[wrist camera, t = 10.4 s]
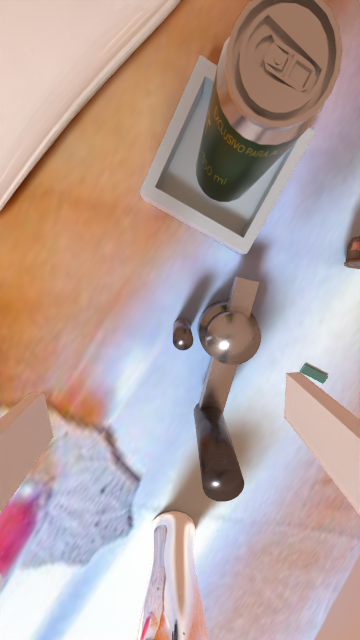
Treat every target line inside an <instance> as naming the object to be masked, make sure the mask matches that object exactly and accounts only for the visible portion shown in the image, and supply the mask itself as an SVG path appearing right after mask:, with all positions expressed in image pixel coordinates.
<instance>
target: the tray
mask: <svg viewBox="0 0 360 640" xmlns="http://www.w3.org/2000/svg"><path fill="white" fill-rule="evenodd" d="M216 70H217V65H215V64H214V63H212V62H211V61H209V60H208V59H206V58H205V57H203V56H202V55H200V56H199V58H198V61H197V63H196V65H195V67H194V70H193V72H192V74H191V76H190V79H189V81H188V83H187V86H186V88H185V90H184V92H183V95H182V97H181V99H180V101H179V104H178V106H177V108H176V111H175V113H174V115H173V117H172V120H171V122H170V124H169V126H168V129H167V131H166V133H165V135H164V138H163V140H162V142H161V145H160V147H159V149H158V151H157V154H156V156H155V158H154V160H153V163H152V165H151V167H150V170H149V172H148V174H147V176H146V179H145V181H144V183H143V185H142V188H141V190H140V194H141V196H142V198H143V200H144V201H146V202H148V203H149V204H151V205H153V206H155V207H157V208H158V209H160V210H162V211H164V212H165V213H167V214H169V215H171V216H173V217H174V218H176V219H178V220H180V221H181V222H183V223H185V224H187V225H189V226H190V227H192V228H194V229H196V230H197V231H199V232H201V233H203V234H205V235H206V236H208V237H210V238H212V239H213V240H215V241H217V242H219V243H221V244H222V245H224V246H226V247H228V248H229V249H231V250H233V251H235V252H236V253H238V254H240V255H241V254H246V253H248V251H249V249H250V248H251V246H252V244H253V242H254V240H255V239H256V237H257V235H258V233H259V232H260V230H261V228H262V226H263V224H264V223H265V221H266V219H267V217H268V216H269V214H270V212H271V210H272V209H273V207H274V205H275V203H276V201H277V200H278V198H279V196H280V194H281V193H282V191H283V189H284V187H285V185H286V184H287V182H288V180H289V178H290V177H291V175H292V173H293V171H294V169H295V168H296V166H297V164H298V162H299V161H300V159H301V157H302V155H303V154H304V152H305V150H306V148H307V146H308V145H309V143H310V141H311V139H312V138H313V136H314V134H315V131H314V130H312V129H311V128H308V129H307V130H306V131H305V132H304V133H303V134H302V135H301V136H300V137H299V138H298V139H297V140H296V141H295V142H294V144H293V145H292V146H291V147H290V148H289V149H288V150H287V151H286V152H285V153H284V154H283V155H282V156H281V157H280V158H279V159H278V160H277V161H276V162H275V163H274V164H273V165H272V166H271V167H270V168H269V169H268V170H267V171H266V172H265V174H264V175H263V176H262V177H261V178H260V179H259V180H258V181H257V182H256V183H255V184H254V185H253V186H252V187H251V188H250V189H249V190H248V191H247V192H246V193H245V194H244V195H242V196H241V197H240V198H238V199H237V200H234V201H231V202H218V201H216V200H213V199H211V198H210V197H208V196H207V195H206V194H205V193H204V192H203V190H202V189H201V187H200V186H199V184H198V180H197V176H196V163H197V158H198V153H199V149H200V144H201V139H202V135H203V130H204V126H205V121H206V116H207V112H208V107H209V102H210V98H211V93H212V88H213V84H214V79H215V75H216Z"/></svg>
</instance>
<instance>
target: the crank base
mask: <svg viewBox="0 0 360 640" xmlns="http://www.w3.org/2000/svg"><path fill="white" fill-rule="evenodd" d="M227 305H228V301H221V302H217V303H214V304H213V305H211V306H209V307H208V308H207V309H206V310H205V311H204V312H203V313H202V315H201V317H200V319H199V322H198V335H199V339H200V342H201V344H202V346H203V348H204V350H205V351H206V352H207V353H208V354H209V355H211V353H210V351H209V349H208V346H207V344H206V341H205V329H206V326H207V324H208V322H209V321H210V319H211V318H212V317H213V316H214V315H216V314H217V313H219V312H222V311H225V310H226V308H227ZM249 317H250V318H251V319H252V320H254V321H255V323H256V324H257V322H256V320H255V318H254V316H253V315H252V313H250V316H249ZM173 344H174V346H175V347H176V348H177V349H179V350H187V349H189V348H190V347H191V346H192V344H193V336H192V332H191V328H190V324H189V322H188V321H187V320H186V319H184V318H180V319H177V320H176V321H175V323H174V328H173ZM211 356H212V355H211ZM300 372H301V373H303V374H305V375H307V376H309V377H311V378H313V379H315V380H317V381H319V382H321V383H324V382H325V381H326V379H327V378H328V376H326V375H324V374H323V373H321V372H319V371H317V370H315V369H313V368H311V367H309V366H307V365H304V366H303V368H302V369H301V370H300Z"/></svg>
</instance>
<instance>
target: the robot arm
mask: <svg viewBox="0 0 360 640" xmlns="http://www.w3.org/2000/svg"><path fill="white" fill-rule="evenodd" d="M284 418H285V419H286V420H287V421H288V423H289V424H290V425H291V427H292V428H293V429H294V431H295V432H296V433H297V434H298V436H299V437H300V438H301V440H302V441H303V442H304V443H305V445H306V446H307V447H308V449H309V450H310V451H311V453H312V454H313V455H314V456H315V458H316V459H317V460H318V462H319V463H320V464H321V465H322V467H323V468H324V469H325V471H326V472H327V473H328V475H329V476H330V477H331V478H332V480H333V481H334V482H335V484H336V485H337V486H338V487H339V489H340V490H341V491H342V493H343V494H344V495H345V497H346V498H347V499H348V500H349V502H350V503H351V504H352V506H353V507H354V508H355V509H356V511H357V512H358V513H359V515H360V419H358V418H357V417H356V416H355V415H353V414H352V413H351V412H349V411H348V410H347V409H346V408H344V407H343V406H342V405H341V404H339V403H338V402H337V401H336V400H334V399H333V398H332V397H331V396H329V395H328V394H327V393H326V392H324V391H323V390H322V389H321V388H319V387H318V386H317V385H316V384H314V383H313V382H312V381H310V380H309V379H308V378H307V377H305V376H304V375H303V374H302V373H300V372H296V373H286V391H285V413H284ZM52 438H53V433H52V429H51V424H50V419H49V414H48V410H47V405H46V400H45V395H44V392H38V393H29V394H28V395H27V396H25V397H24V398H23V399H22V400H21V401H20V402H19V403H18V404H16V405H15V406H14V407H13V408H12V409H11V410H10V411H9V412H8V413H6V414H5V415H4V416H3V417H2V418H1V419H0V514H1V512H2V511H3V509H4V508H5V506H6V505H7V503H8V502H9V500H10V499H11V497H12V496H13V495H14V493H15V492H16V490H17V489H18V487H19V486H20V484H21V483H22V481H23V480H24V479H25V477H26V476H27V474H28V473H29V471H30V470H31V468H32V467H33V465H34V464H35V463H36V461H37V460H38V458H39V457H40V455H41V454H42V452H43V451H44V449H45V448H46V447H47V445H48V444H49V442H50V441H51V439H52Z"/></svg>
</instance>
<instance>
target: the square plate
mask: <svg viewBox="0 0 360 640" xmlns="http://www.w3.org/2000/svg"><path fill="white" fill-rule="evenodd" d="M180 1H181V0H0V211H1V210H2V209H3V207H4V206H5V204H6V203H7V202H8V200H9V199H10V198H11V196H12V195H13V194H14V192H15V191H16V190H17V188H18V187H19V186H20V184H21V183H22V182H23V180H24V179H25V178H26V176H27V175H28V174H29V173H30V171H31V170H32V169H33V167H34V166H35V165H36V163H37V162H38V161H39V160H40V158H41V157H42V156H43V155H44V154H45V152H46V151H47V150H48V149H49V147H50V146H51V145H52V144H53V142H54V141H55V140H56V139H57V137H58V136H59V135H60V134H61V132H62V131H63V130H64V129H65V128H66V126H67V125H68V124H69V123H70V121H71V120H72V119H73V118H74V117H75V116H76V115H77V113H78V112H79V111H80V110H81V109H82V108H83V107H84V106H85V105H86V103H87V102H88V101H89V100H90V99H91V98H92V97H93V96H94V94H95V93H96V92H97V91H98V90H99V89H100V88H101V87H102V86H103V84H104V83H105V82H106V81H107V80H108V79H109V78H110V77H111V76H112V75H113V74H114V73H115V71H116V70H117V69H118V68H119V67H120V66H121V65H122V64H123V63H124V62H125V61H126V60H127V59H128V58H129V57H130V56H131V54H132V53H133V52H134V51H135V50H136V49H137V48H138V47H139V46H140V45H141V44H142V43H143V42H144V41H145V40H146V39H147V38H148V37H149V36H150V35H151V34H152V33H153V32H154V31H155V29H156V28H157V27H158V26H159V25H160V24H161V23H162V22H163V21H164V20H165V19H166V18H167V16H168V15H169V14H170V13H171V12H172V11H173V10H174V9H175V7H176V6H177V5H178V4H179V2H180Z"/></svg>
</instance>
